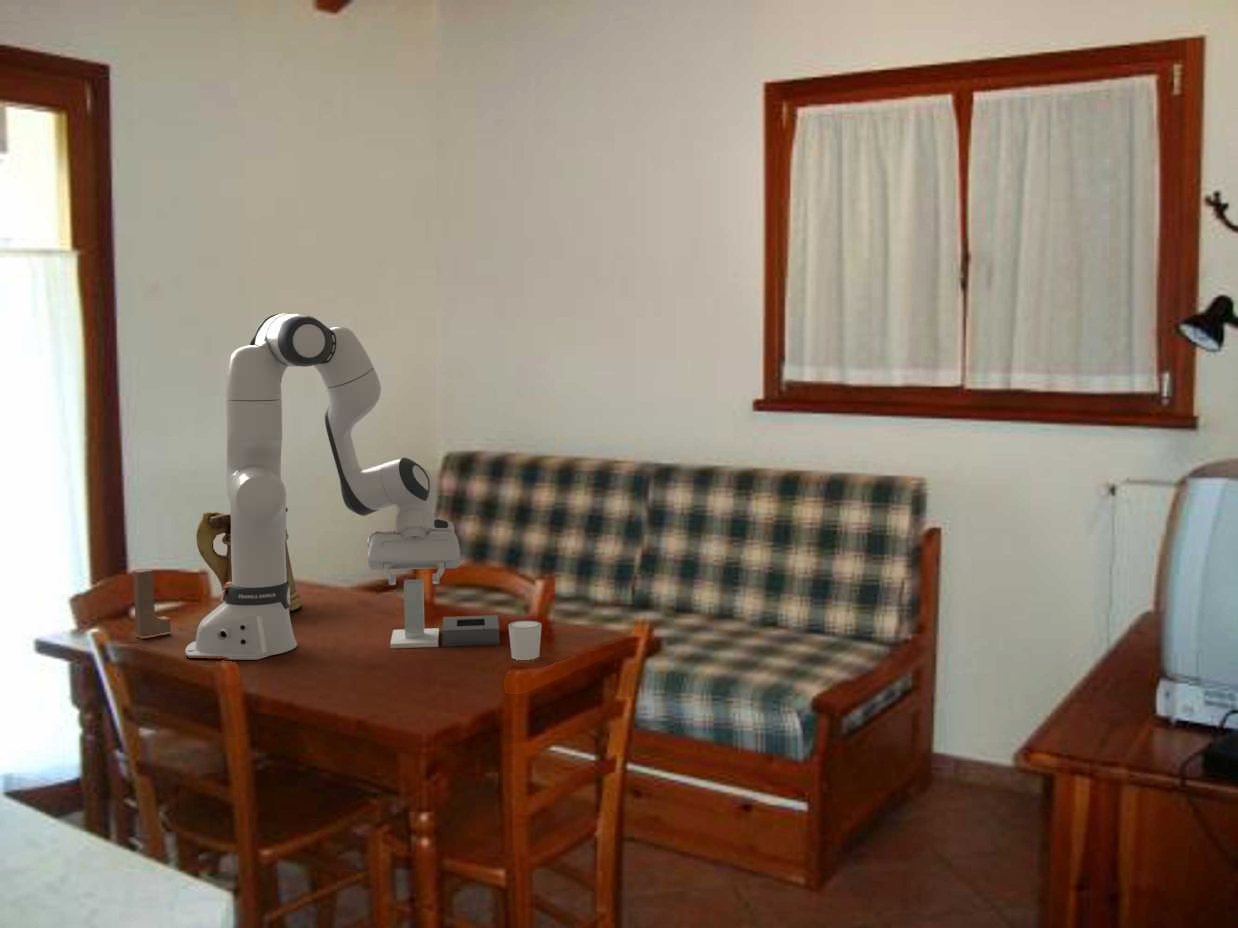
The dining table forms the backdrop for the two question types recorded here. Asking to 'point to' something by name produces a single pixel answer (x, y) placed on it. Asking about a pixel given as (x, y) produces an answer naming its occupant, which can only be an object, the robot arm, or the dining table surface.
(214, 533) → the tankard
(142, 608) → the wooden block
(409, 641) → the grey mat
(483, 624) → the metal socket
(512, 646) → the white cup
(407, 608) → the steel peg
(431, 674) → the dining table surface
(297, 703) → the dining table surface
